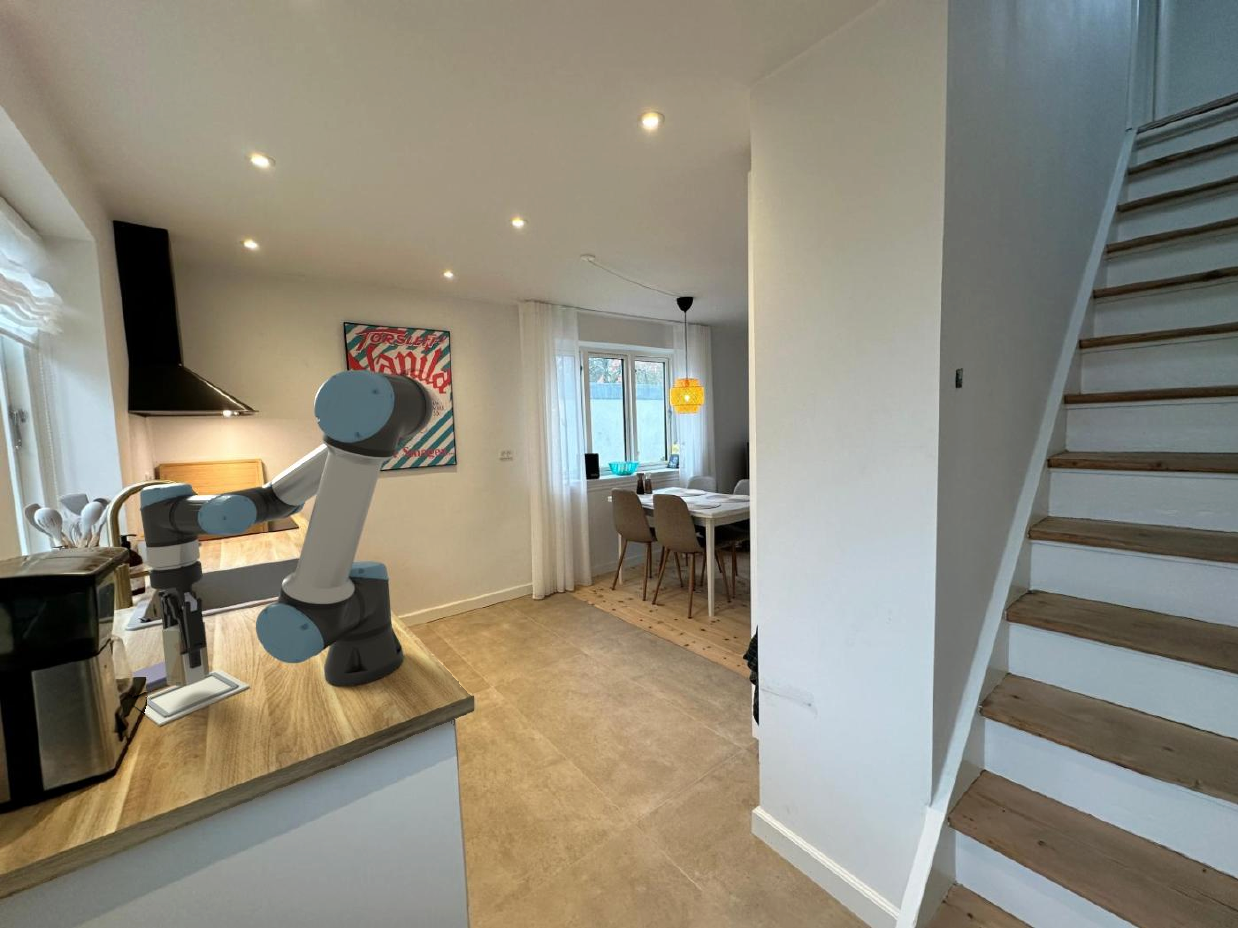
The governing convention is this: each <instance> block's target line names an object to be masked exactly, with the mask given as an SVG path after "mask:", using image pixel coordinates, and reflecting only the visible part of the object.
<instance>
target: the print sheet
mask: <svg viewBox="0 0 1238 928" xmlns="http://www.w3.org/2000/svg"><path fill="white" fill-rule="evenodd" d="M249 688H250V684H247V683H246V682H244V681H242V680H240V679H238V678H236V677H234V676H232V675H230V674H229V673H227V672H225V671H223V670H221V669H219V668H218V669H215V670H213V671H211V672H210V671H209V675H207V676H205V680H202V681H199V682H197V683H194V684H192V685H189V686H187V685H186V686H184V687H182V686H174V685H172V686H171V687H168V688H166V689H163V690H161V691H158V692H155V693H153V694H150V695H147V696H148V697H147V696H146V697H147V706H146V709H145V712H144V713H145V715H144V716H145V717H147V718H148V719H149V720H151V721H152V722H153V723H155V724H156V725H157V726H158V727H160V726H162V725H165V724H168V723H170V722H173V721H174V720H177V719H179V718H181V717H184V716H186V715H188V714H191V713H193V712H196V711H197V710H200V709H203V708H206V707H207V706H210V705H212V704H214V703H216V702H219V701H221V700H224V699H226V698H229V697H230V696H233V695H235V694H238V693H240V692H241V691H244V690H247V689H249Z"/></svg>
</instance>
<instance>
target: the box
mask: <svg viewBox="0 0 1238 928" xmlns="http://www.w3.org/2000/svg"><path fill="white" fill-rule="evenodd" d="M203 624H204V631H205V639H206V647H205V648H202V658H203V666H204V675H205V676H207V675H209V673H210V665H209V664H210V663H209V655H208V644H207V642H208V641H207V632H206V622H205V621H203ZM161 633H162V645H163V655H164V661H165V667H166V679H167V685H166V686H182V687H184V686H186V680H185V672H184V664H183V656H182V655H180V653H179V652H182V651H184V647H183V642H182V638H181V631H180V629H179V625H178V624H177V625H174V626H172V627H170V628H167V629H164V630H163V629H162V630H161Z"/></svg>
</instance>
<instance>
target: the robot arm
mask: <svg viewBox="0 0 1238 928" xmlns="http://www.w3.org/2000/svg"><path fill="white" fill-rule="evenodd" d="M313 404H314V405H313V412H314V413H313V414H314V417H315V418H317V420H318V421H317V422H316V423H317V425H318V428H319V429H320V430H321V431H322V435H321V439H320V440H321V441H322V444H321V445H320V446H318V447H316V448H315V449H314V450H312V451H311V452H310V453H308V454H307V455H305V456H303V457H302V458H301V459H300V460H298V461H297V462H295V463H293V464H292V465H291V466H289V467H288V468H286V469H285V470H284V471H282V472H280V473H279V474H278V475H276V476H275V477H274V478H272V479H271V480H270V481H268V482H266V483H264V484H263V485H260V486H256V487H255V486H254V487H250V488H245V489H239V490H234V491H228V492H222V493H216V494H202V495H201V494H195V492H194V489H193V486H192V484H189V483H187V482H186V483H185V482H181V483H180V482H179V483H178V482H175V483H163V484H155V485H150V486H148V485H147V486H146V487H144V488H142V489H141V490H140V492H139V498H140V499H139V500H140V507H139V511H140V514H141V522H142V528H143V529H142V530H143V535H144V542H145V546H144V547H145V555H146V556H145V557H146V563H147V567H149V568H150V570H148V574H149V575H148V577H149V584H150V588H152V589H153V590H158V592H157V596H158V599H159V603H160V604H159V606H160V614H161V615H160V616H161V621H162V630H164V629H167V628H170V627H172V626H174V625H177V624H178V625H179V629H180V631H181V638H182V642H183V647H184V651H182V652H179V653H180V655H182V656H183V664H184V672H185V680H186V685H187V686H189V685H192V684H194V683H197V682H199V681H202V680H205V675H204V666H203V658H202V648H205V647H206V641H207V638H206V639H205V631H204V624H203V622H204V617H203V599H202V598H200V597H198V598H197V593H196V591H195V590H194V589H193V586H192V585H194V584H195V583H198V582H200V581H201V580H202V579H203V577H204V576H203V569H202V567H203V565H202V562H201V561H200V560H199V559H200V558H201V554H200V547H202V546H203V544H202V542H201V541H199V535H200V536H215V537H218V536H220V537H227V536H235V535H241V534H243V533H245V532H247V531H249V529H250V528H251V527H252V526H253V527H254V526H257V525H259V524H264V523H269V522H272V521H277V520H281V519H287V518H288V517H291V516H293V515H296V514H298V513H299V512H301V511H302V510H303V508H304V506H305V504H306V502H307V501H309V500H311V499H312V498H314V497H315V496H316V497H315V499H314V503H313V507H312V511H311V513H310V518H309V522H308V524H307V525H308V526H307V529H306V533H305V536H304V540H303V544H302V547H301V550H300V551H301V552H300V554H299V559H298V561H297V566H296V569H295V571H294V572H291V573H289V574H288V575H287V576H285V577H284V578H283V581H282V583H281V586H280V589H279V594H278V598H277V600H276V602H274V603H270V604H268V605H267V606H266V607H264V608H263V609H262V610H261V611H260V612H259V614H258V616H257V618H256V622H255V632H256V636H257V639H258V641H259V642H260V643H259V644H261V645H262V647H263V649H264V650H265V651H266V653H268V654H269V655H270V656H271V657H273V658H274V659H276V660H278V661H280V662H282V663H286V664H300V663H303V662H306V661H307V660H309V659H311V658H313V657H315V656H318V655H320V654H321V652H323V651H324V650H326V649H328V652H327V655H326V657H325V661H324V662H325V663H324V667H323V670H324V679H325V681H326V682H327V683H328V684H331V685H333V686H339V687H348V686H349V687H351V686H358V685H362V684H367V683H370V682H374V681H376V680H379V679H383V678H385V677H386V676H388V675H390V674H391V673H393V672H395V671H396V670H397V669H398V668H399V667H400V666H401V665H402V664H403V662H404V651H403V647H402V644H401V643H400V641H399V638H398V636H397V635H396V632H395V630H394V628H393V625H392V623H393V622H392V611H391V599H390V585H389V581H390V578H389V576H388V568H387V566H386V564H384V563H382V562H381V561H375V560H374V561H372V560H371V561H370V560H369V561H368V560H367V561H366V560H365V561H355V557H356V554H357V551H358V547H359V544H360V541H361V536H362V533H363V530H364V527H365V523H366V519H367V516H368V513H369V509H370V506H371V503H372V499H373V496H374V492H375V489H376V486H377V483H378V480H379V475H380V473H381V469H382V465H383V463H384V462H386V461H388V460H391V459H392V458H394V456H395V453H396V452H397V451H396V450H397V447H400V446H401V445H402V444H403V443H405V442H407V441H409V440H411V438H413V437H415V436H416V435H417V434H419V433H420V432H422V431H423V430H424V429H425V428H426V427H427V426H428V425H429V424H430V421H431V420H432V417H433V412H434V405H433V404H434V403H433V399H432V396H431V394H430V392H429V391H428V389H427V388H426V387H425V386H424V385H423V384H422V383H421V382H420V381H418V380H417V379H415V378H413V377H411V376H407V375H403V374H393V373H386V372H382V371H381V372H378V371H374V370H369V369H356V370H353V369H352V370H350V369H349V370H344V371H341V372H337V373H336V374H334V375H331V376H330V377H328V379H326V380H325V381H324V382H323V383H322V384H321V386H320V387H319V388H318V391H317V393H316V395H315V399H314V403H313ZM159 590H160V591H159Z"/></svg>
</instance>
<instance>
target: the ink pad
mask: <svg viewBox="0 0 1238 928" xmlns="http://www.w3.org/2000/svg"><path fill="white" fill-rule="evenodd" d="M131 673H133V676H134V677H146V679H147V681H146V691H147V693H149V692H151V691H154V690H157V689H158V690H159V689H161V688H162V687H166V686H168V685H167V679H166V667H165V660H164V661H161V662H159V663H156V664H153V665H150V666H148V667H147V666H146V667H144V668H141V669H139V670H135V671H133V672H131Z"/></svg>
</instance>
